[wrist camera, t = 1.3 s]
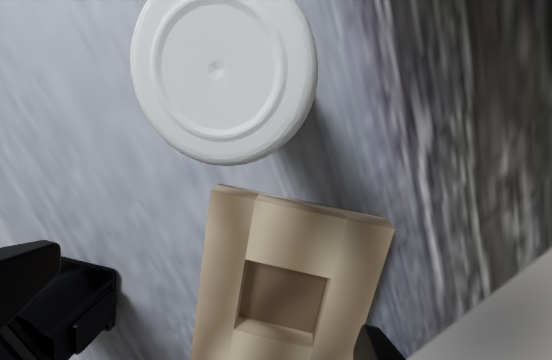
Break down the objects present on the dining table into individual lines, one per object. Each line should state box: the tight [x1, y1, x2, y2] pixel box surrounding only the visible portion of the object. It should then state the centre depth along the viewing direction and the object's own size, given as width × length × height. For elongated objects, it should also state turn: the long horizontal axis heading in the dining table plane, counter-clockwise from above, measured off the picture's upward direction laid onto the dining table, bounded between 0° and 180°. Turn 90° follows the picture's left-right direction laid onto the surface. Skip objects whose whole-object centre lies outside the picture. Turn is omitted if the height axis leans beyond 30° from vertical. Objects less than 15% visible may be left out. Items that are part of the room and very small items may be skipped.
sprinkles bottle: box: [130, 0, 318, 166], centre depth 12 cm, size 5×5×14 cm
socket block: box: [190, 184, 395, 360], centre depth 22 cm, size 13×16×2 cm
